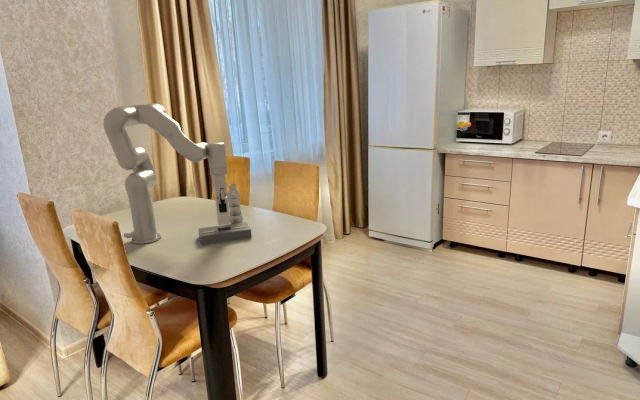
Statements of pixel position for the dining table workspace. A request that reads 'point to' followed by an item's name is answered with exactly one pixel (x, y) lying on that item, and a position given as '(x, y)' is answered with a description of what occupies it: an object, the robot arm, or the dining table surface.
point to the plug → (222, 217)
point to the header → (224, 233)
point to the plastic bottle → (234, 205)
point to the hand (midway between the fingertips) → (222, 210)
